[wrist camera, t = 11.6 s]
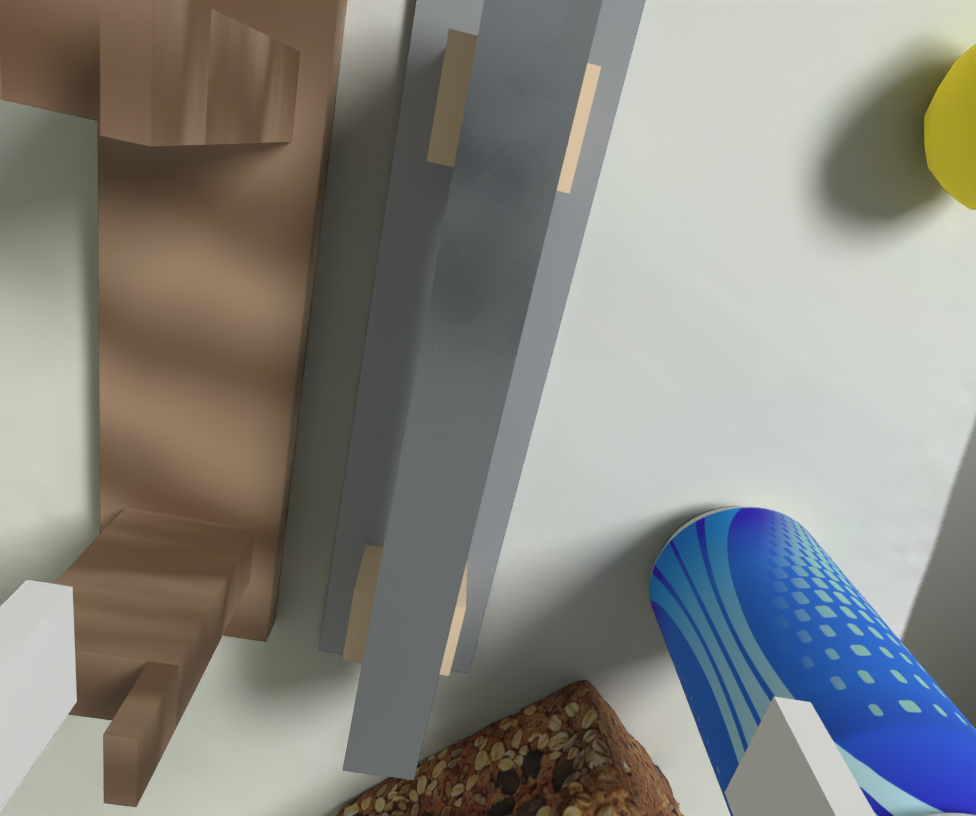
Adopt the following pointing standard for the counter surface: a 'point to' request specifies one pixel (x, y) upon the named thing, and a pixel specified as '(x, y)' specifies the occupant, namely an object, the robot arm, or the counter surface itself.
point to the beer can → (804, 661)
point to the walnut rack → (187, 324)
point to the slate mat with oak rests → (405, 297)
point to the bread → (534, 768)
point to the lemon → (954, 131)
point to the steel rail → (467, 357)
